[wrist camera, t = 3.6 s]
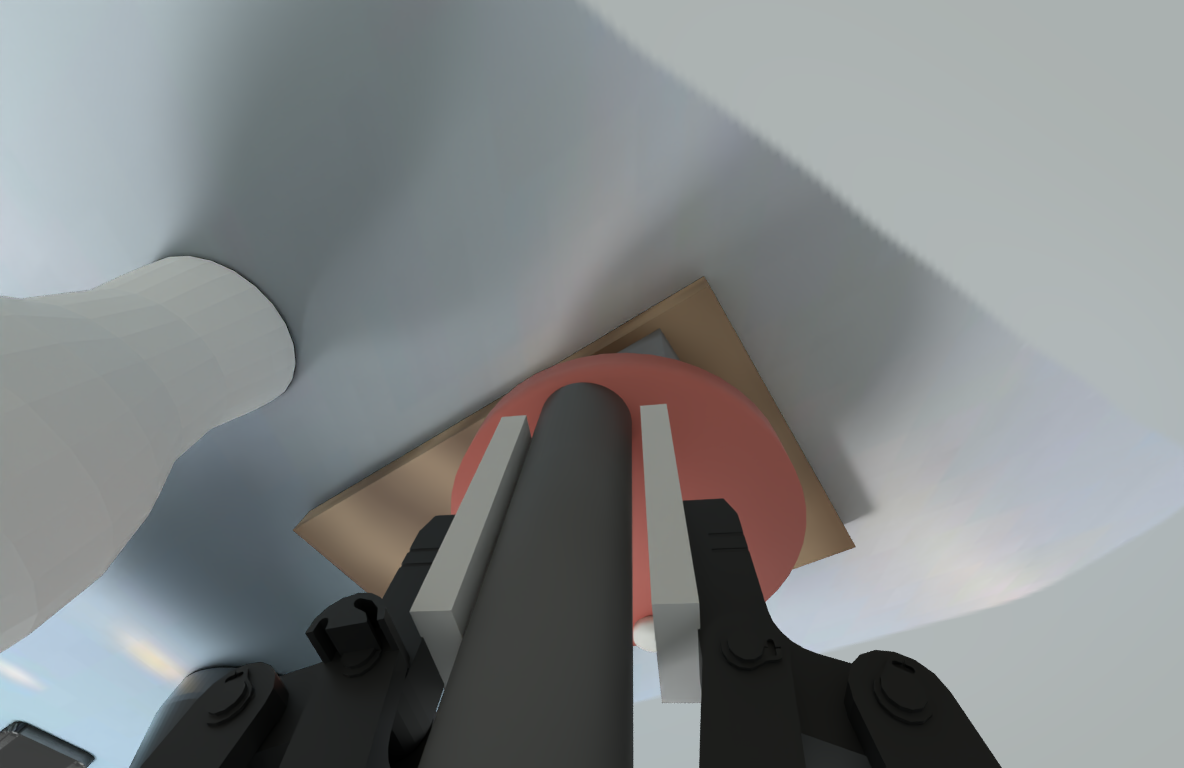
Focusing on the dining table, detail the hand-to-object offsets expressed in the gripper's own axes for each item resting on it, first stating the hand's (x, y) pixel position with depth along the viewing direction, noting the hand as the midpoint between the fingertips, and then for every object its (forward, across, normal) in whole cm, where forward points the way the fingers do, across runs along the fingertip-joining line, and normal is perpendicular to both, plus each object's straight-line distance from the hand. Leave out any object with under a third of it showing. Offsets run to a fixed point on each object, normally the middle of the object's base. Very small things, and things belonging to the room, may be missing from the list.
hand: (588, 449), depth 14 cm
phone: (+9, -63, -39) cm, 74 cm away
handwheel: (+3, +1, -5) cm, 6 cm away
